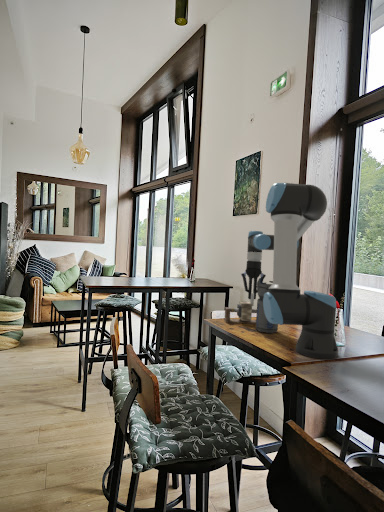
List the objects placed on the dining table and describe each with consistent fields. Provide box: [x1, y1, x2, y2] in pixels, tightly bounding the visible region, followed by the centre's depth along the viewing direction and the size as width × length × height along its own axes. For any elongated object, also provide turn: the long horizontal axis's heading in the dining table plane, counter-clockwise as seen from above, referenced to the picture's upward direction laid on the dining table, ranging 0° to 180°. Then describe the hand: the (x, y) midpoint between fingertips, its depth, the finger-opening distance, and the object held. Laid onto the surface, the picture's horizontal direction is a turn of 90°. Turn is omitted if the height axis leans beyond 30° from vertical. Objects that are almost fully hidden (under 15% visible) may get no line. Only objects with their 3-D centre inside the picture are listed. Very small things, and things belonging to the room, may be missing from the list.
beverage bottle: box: [255, 277, 279, 334], centre depth 162 cm, size 10×13×25 cm
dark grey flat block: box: [236, 303, 242, 318], centre depth 180 cm, size 1×6×6 cm, turn 3°
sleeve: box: [238, 300, 253, 321], centre depth 180 cm, size 5×9×9 cm, turn 3°
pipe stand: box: [223, 306, 257, 325], centre depth 180 cm, size 22×7×7 cm, turn 93°
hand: (251, 305), depth 180 cm, fingers closed
